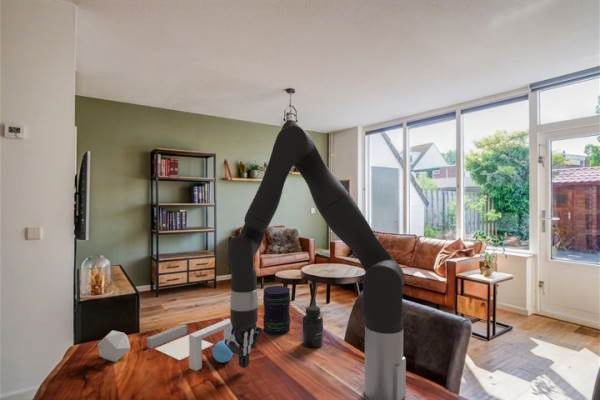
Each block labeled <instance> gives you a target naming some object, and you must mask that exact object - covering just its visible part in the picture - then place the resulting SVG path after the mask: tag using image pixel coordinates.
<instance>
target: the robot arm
mask: <svg viewBox="0 0 600 400" xmlns="http://www.w3.org/2000/svg"><path fill="white" fill-rule="evenodd" d="M275 138H276V139H275V141H274V144H273V147H272V150H271V154H270V157H269V160H268V162H267V166H266V168H265V172H264V175H263V177H262V180H261V182H260V184H259V186H258V188H257V191H256V193H255V195H254V198H253V199H252V201H251V203H250V205H249V207H248V209H247V211H246V214H245V215H244V224H243V227H242V229H241V231H240V233H239V234H238V235H236V236H234V237H232V239H230V241H229V242H228V246H227V260H228V265H229V269H230V274H231V277H230V281H231V282H230V283H231V284H230V286H231V289H230V298H229V299H230V301H229V302H230V305H229V307H230V308H229V309H230V310H229V311H230V315H229V317H230V318H229V319H230V322H231V324H232V331H231V337H230V338H229V340H228V339H226V340H225V344H226V346H227V347H228V348H229V349H230V350H231V351H232V353H233V355H236V356H238V366H239V367H240V368H242V369H247V368H248V367H249V366H250V365H249V363H250V354H251V351H252V350H254V349H255V348H256V345H257V343H258V340H259V338H260V336H261V333H262V331H263V328H262V327H259V326H257V322H258V320H259V319H258V315H259V314H258V313H259V311H258V310H259V309H258V303H259V302H258V300H259V299H258V296H259V295H258V289H257V284H258V282H257V280H258V277H257V270H256V269H255V268H254V260H253V258H254V256H255V255H256V254H257V253H258V251H259V249H260V247H261V245H262V243H263V240H264V237H265V235H266V231H267V228H268V227H269V226H270V224H271V222H272V220H273V218H274V215H276V214H275V213H276V212H277V210H278V207H279V204H280V201H281V199H282V198H281V197H282V194H283V190H284V187H285V183H286V181H287V178H288V176H289V174H290V172H291V170H292V169H293V167H294V168H295V169H296V171H298V173H299V174H300V175H301V177H302V178H303V179H304V181H305V183H306V185H307V187H308V189H309V192H310V195H311V198H312V200H313V203H314V205H315V207H316V209H317V211H318V212H319V214H320V215H321V218H322V219H323V220H324V222H325V223H326V225H327V226H328V227H329V228H330V230H331V231H332V233H334V235H335V236H336V237H337V238H338V239H340V240H341V242H343V243H344V244H345V245H346V246H347V247H348V248H349V249H350V250H351V251H352V253H354V255H355V257H356V258H357V259H358V261H359V263H360V264H361V266H362V268H363V270H364V272H365V273H364V274H363V275H364V276H363V280H362V306H363V307H362V312H363V317H364V394H365V397H366V398H367V399H368V400H403V399H404V398H405V397H406V394H407V393H406V392H407V391H406V390H407V389H406V385H407V383H406V382H407V379H406V378H407V377H406V375H407V368H406V367H407V359H406V356H404V316H403V288H404V285H405V273H404V271H403V269H402V267H401V266H400V265H399V263H398V262H397V261H396V260H395V259H394V257H392V255H391V254H390V253H389V252H388V250H387V249H386V248H385V247H384V245H383V244H382V243H381V242H380V240H379V239H378V238H377V236H376V234H375V233H374V232H373V229H372V228H371V226H370V224H369V223H368V221H367V219H366V218H365V216H364V215H363V212H362V210H361V209H360V208H359V206H358V205H357V203H356V202H355V200H354V198H353V197H352V196H351V194H350V193H349V192H348V190H347V189H346V188H345V186H344V185H343V183H341V181H340V180H339V178H338V177H337V176H336V175H335V174H334V173H333V172H332V171H331V170H330V168H329V167H328V165H327V164H326V163H325V161H324V159H323V157H322V154H321V153H320V151H319V149H318V148H317V145H316V143H315V141H314V139H313V138H312V136H311V135H310V133H308V132H307V131H306V130H305V129H304V128H303V127H301V126H299V125H296V124H290V125H286V126H284V127H283V128H282V129H280V131H279V132H278V133H277V136H276V137H275Z"/></svg>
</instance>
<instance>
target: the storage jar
mask: <svg viewBox="0 0 600 400" xmlns="http://www.w3.org/2000/svg"><path fill="white" fill-rule="evenodd" d="M290 292H291V289H290V288H289V287H288V286H284V285H283V286H282V285H273V286H267V287H265V288H263V298H262V299H263V303H262V304H263V308H264V309H263V311H264V312H263V317H262V319H263V322H262V324H263V332H264V334H266V335H269V336H276V337H277V336H283V335H286V334H288V333H290V331H291V328H290V326H291V314H290V305H291V293H290Z"/></svg>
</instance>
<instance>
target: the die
mask: <svg viewBox="0 0 600 400" xmlns="http://www.w3.org/2000/svg"><path fill="white" fill-rule="evenodd" d="M97 348H98V353H99V357H101V358H102V359H103V360H107V361H110V362H114V363H117V362H118V361H119V360H120V359H121V358H122V357H123V356H124V355H125V354H126V353H127V352H128V351H129V350H130V349H131V344H130V341H129V337H128V336H127V334H126V333H125V332H123V331H122V332H121V331H117V330H111V331H110V332H109V333H107V335H105V336H104V337H103V338H102V339H101V340H100V341H99V342H98V343H97Z"/></svg>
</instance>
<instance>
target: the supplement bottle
mask: <svg viewBox="0 0 600 400" xmlns="http://www.w3.org/2000/svg"><path fill="white" fill-rule="evenodd" d="M323 342H324V317H323V316H322V315H321V308H320V306H317V305H310V306H306V307H305V315H304V316H303V318H302V344H303V346H305V347H306V348H311V349H315V348H317V349H318V348H319V347H321V346H323Z"/></svg>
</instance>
